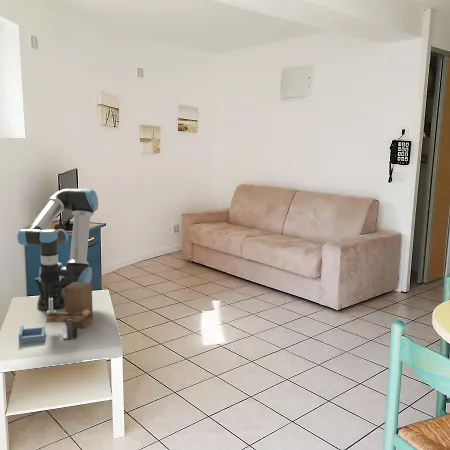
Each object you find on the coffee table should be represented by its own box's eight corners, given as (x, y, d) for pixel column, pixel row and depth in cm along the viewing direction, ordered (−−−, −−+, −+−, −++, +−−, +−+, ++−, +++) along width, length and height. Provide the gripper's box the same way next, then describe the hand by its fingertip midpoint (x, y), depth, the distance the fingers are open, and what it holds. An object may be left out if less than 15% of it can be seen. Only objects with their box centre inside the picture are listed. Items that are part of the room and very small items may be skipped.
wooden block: (83, 329, 227) (82, 289, 223) (64, 327, 229) (63, 287, 225) (93, 321, 237) (92, 282, 233) (75, 319, 239) (73, 281, 235)
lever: (46, 322, 213) (46, 315, 212) (47, 312, 225) (47, 305, 225) (92, 321, 219) (92, 314, 219) (91, 311, 232) (91, 304, 231)
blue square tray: (21, 335, 219) (20, 325, 218) (45, 332, 222) (44, 323, 221) (19, 344, 209) (18, 334, 208) (44, 341, 212) (43, 332, 211)
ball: (82, 316, 223) (81, 309, 222) (90, 314, 223) (89, 307, 223) (83, 319, 219) (81, 312, 218) (90, 317, 220) (89, 310, 219)
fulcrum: (63, 340, 214) (62, 321, 213) (63, 330, 225) (62, 312, 223) (77, 338, 216) (76, 319, 215) (76, 329, 226) (76, 311, 225)
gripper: (33, 266, 212) (35, 316, 217) (64, 264, 217) (66, 313, 221) (34, 262, 220) (36, 310, 224) (65, 260, 224) (66, 308, 228)
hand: (51, 312), depth 222 cm, fingers closed
